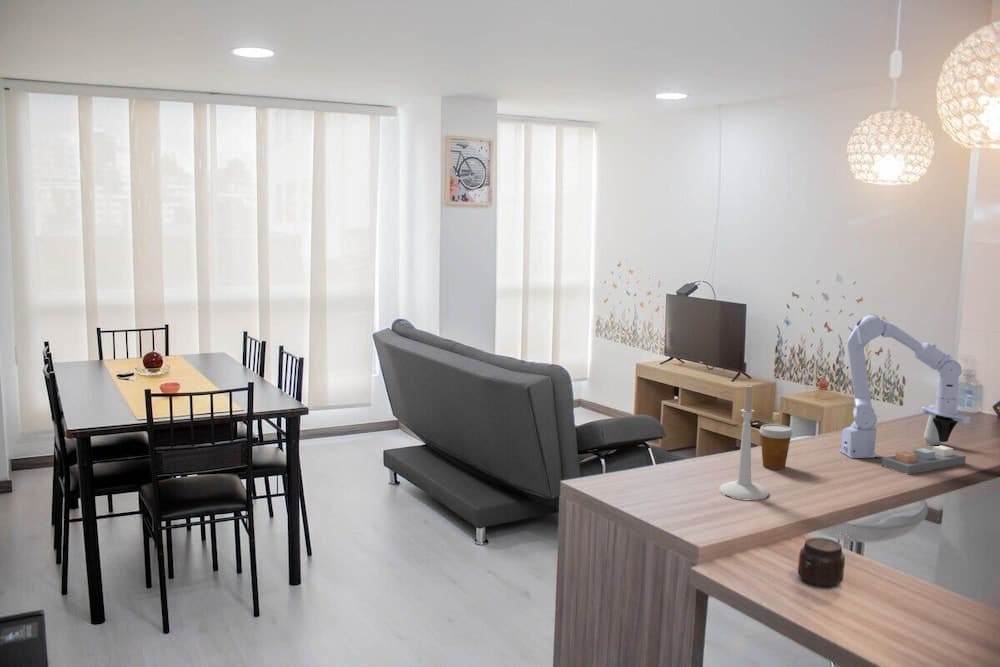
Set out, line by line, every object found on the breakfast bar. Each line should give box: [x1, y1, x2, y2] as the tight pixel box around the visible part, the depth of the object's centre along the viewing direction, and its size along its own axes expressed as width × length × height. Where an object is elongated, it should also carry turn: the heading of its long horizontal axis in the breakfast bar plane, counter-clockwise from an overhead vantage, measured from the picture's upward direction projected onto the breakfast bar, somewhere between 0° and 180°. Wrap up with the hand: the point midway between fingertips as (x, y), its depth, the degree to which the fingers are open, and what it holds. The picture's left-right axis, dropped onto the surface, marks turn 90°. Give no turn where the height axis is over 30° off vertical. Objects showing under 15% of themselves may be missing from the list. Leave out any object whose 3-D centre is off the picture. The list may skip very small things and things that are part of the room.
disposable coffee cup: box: [758, 423, 794, 470], centre depth 248 cm, size 10×10×12 cm
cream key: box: [931, 444, 954, 457], centre depth 254 cm, size 4×4×2 cm
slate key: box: [913, 447, 935, 460], centre depth 251 cm, size 4×4×2 cm
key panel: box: [881, 452, 967, 475], centre depth 251 cm, size 25×9×2 cm, turn 115°
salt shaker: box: [923, 404, 942, 446], centre depth 273 cm, size 6×6×13 cm
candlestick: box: [718, 384, 769, 501], centre depth 224 cm, size 13×13×30 cm
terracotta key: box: [895, 450, 917, 463], centre depth 247 cm, size 4×4×2 cm
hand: (943, 441), depth 254 cm, fingers closed
